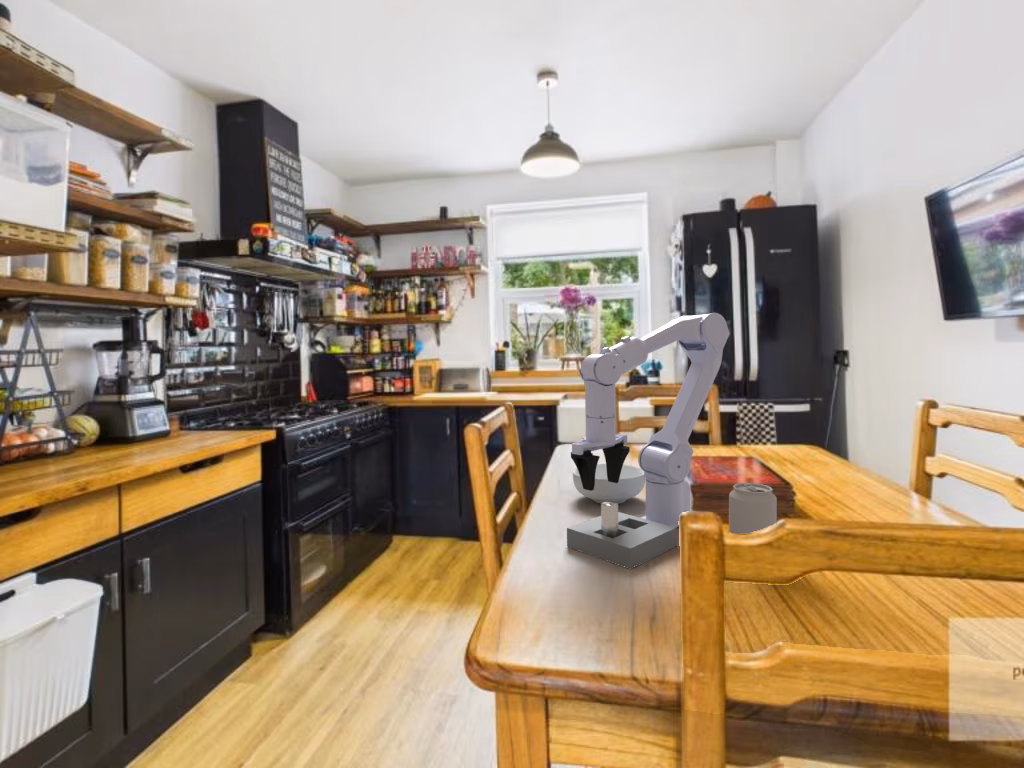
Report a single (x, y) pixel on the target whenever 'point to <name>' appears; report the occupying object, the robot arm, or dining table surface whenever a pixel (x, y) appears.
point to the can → (751, 507)
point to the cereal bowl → (612, 484)
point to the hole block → (623, 540)
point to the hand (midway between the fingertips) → (601, 485)
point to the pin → (609, 519)
